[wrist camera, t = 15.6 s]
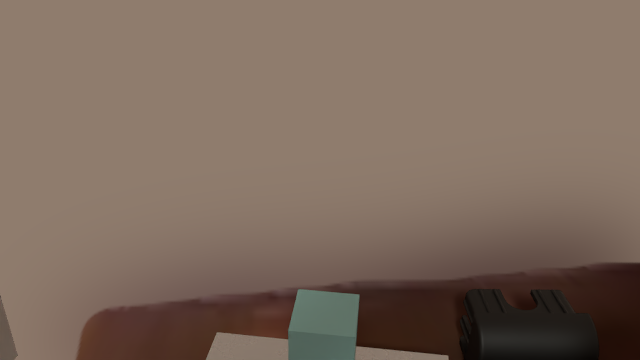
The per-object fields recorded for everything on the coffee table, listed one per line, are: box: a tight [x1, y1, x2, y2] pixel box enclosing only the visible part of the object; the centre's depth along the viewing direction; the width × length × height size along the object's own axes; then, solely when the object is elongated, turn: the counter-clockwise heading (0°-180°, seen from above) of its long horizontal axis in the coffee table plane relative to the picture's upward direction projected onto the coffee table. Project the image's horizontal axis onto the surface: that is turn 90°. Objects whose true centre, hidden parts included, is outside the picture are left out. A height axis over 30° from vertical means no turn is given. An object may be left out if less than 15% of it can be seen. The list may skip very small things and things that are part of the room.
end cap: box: [460, 289, 599, 360], centre depth 50 cm, size 10×7×7 cm
